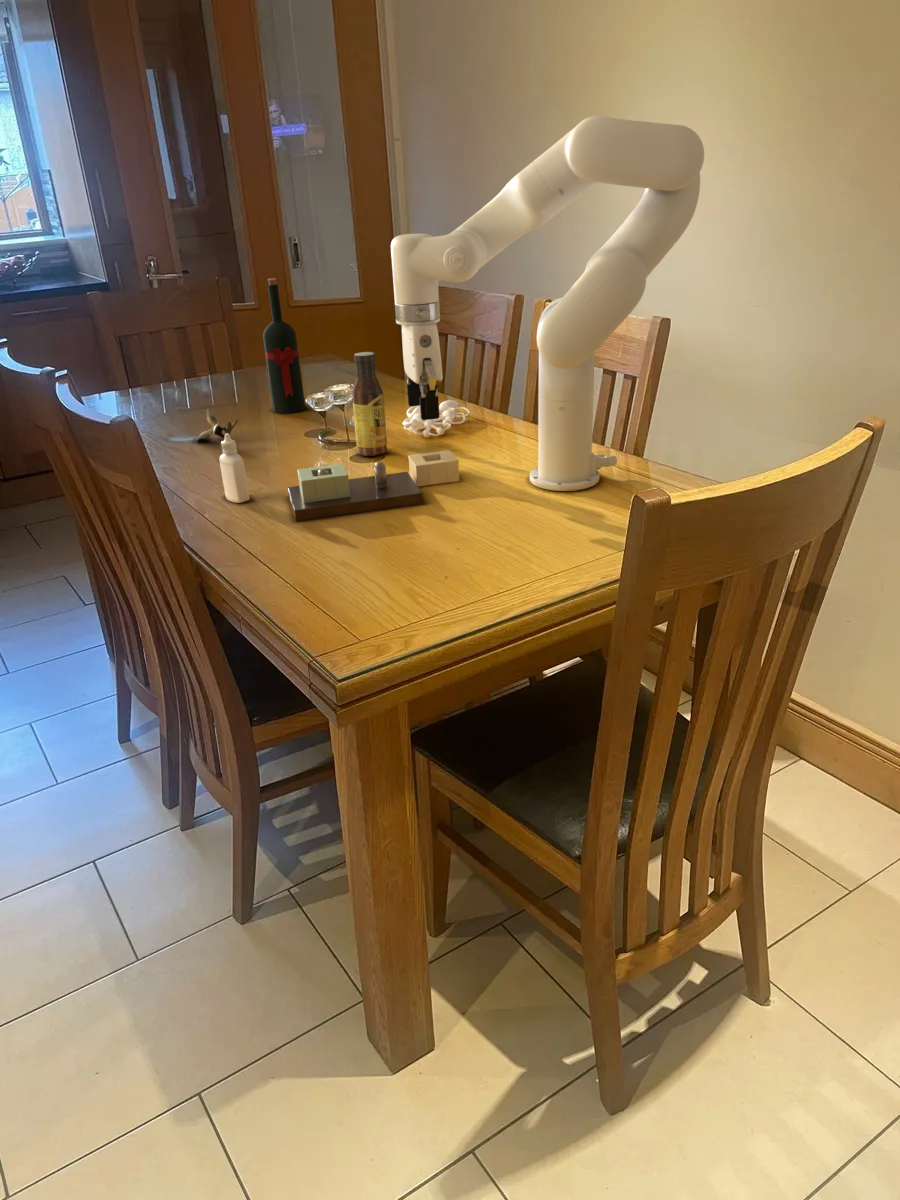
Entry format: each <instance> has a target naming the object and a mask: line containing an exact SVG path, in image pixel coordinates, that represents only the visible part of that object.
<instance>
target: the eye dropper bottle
mask: <svg viewBox="0 0 900 1200" xmlns="http://www.w3.org/2000/svg"><path fill="white" fill-rule="evenodd" d="M224 434H225V438H224V439H223V440H222V441H221V442H220V445H221V450H222V454H220V456H219V459H218V460H219V461H218V462H219V468H220V472H221V478H222V485H223V490H224V496H225V498H226V499H227V500H228V501H229V502H232V503H235V504H240V503H245V502H248V501H250V492H249V491H250V490H249V486H248V485H249V484H248V480H247V474H246V468H245V463H244V459H243V457H242V456H241V455H240V454H239V453H238V450H237V443H236V440H235V439H232V438H231V436H230V435H229V434H226V433H224Z"/></svg>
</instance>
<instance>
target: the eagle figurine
mask: <svg viewBox="0 0 900 1200" xmlns="http://www.w3.org/2000/svg"><path fill="white" fill-rule="evenodd" d="M205 410H206V411H205V416H206V421H207V423H208V424H209V426H211V428H209V429H208V430H205V431H202V432H201V433H200V434H199V435H198V437H197V438H196V439H195V440H194V441H195V442H197V441H199V440H202V439H203V440H205V439H209V438H210V437H211V436H214V435H215V436H218V437H219V438H221V439H225V434H229V436H230V435H231V434H232V433H231V432H232V430H233V429H234V427H235V426H236V425H237V423H238V421H239V419H238V418H236V419H235V420H234V422H233V423H232V422H230V421H229V420H227V423H226V426H223V427H222V426H220V425H219V422H218V420H217V418H216V417H215V415H213V414H212V413H211V410H210V409H209V408H207V409H205ZM223 431H224V433H223Z"/></svg>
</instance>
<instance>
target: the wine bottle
mask: <svg viewBox="0 0 900 1200" xmlns="http://www.w3.org/2000/svg"><path fill="white" fill-rule="evenodd" d="M267 281H268V284H267V289H268V290H267V291H268V298H269V304H270V311H271V318H272V321H271V322H270V323H269V324H268V325H267V326H266V327H265V329H264V330H263V333H262V339H263V347H264V354H265V362H266V368H267V376H268V383H269V391H270V398H271V399H270V400H271V407H272V411H273V412H274V413H276V414H293V413H298V412H302V411H304V410H305V409H306V402H305V401H306V400H305V393H304V387H303V379H302V371H301V363H300V356H299V349H298V341H297V333H296V331H295V329H294V328H293V326H292V325H291V324H289V323H288V322H286V321H284V320H283V315H282V309H281V300H280V291H279V285H278V283H277V279H276V278H274V277H273V278H268V279H267Z"/></svg>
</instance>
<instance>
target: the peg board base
mask: <svg viewBox="0 0 900 1200" xmlns="http://www.w3.org/2000/svg"><path fill="white" fill-rule="evenodd" d="M373 468H374V469H373V471H374V475H371V476H364V477H356V478H348V479H349V488H350V497H346V498H339V499H331V500H323V501H316V502H309V503H304V501H303V498H302V495H301V492H300V487H299V485H294V486H288V487H287V492H288V498H289V501H290V505H291V509H292V512H293V516H294V519H295V522H302V521H309V520H317V519H322V518H331V517H339V516H344V515H350V514H351V515H353V514H357V513H359V514H360V513H366V512H374V511H379V510H380V511H382V510H388V509H394V508H396V509H397V508H402V507H409V506H417V505H423V504H424V499H423V492H422V491H421V489H420V487H419V486H417V485H416V483H415V482H414V481H413V479H412V478H411V476H410V473H409V472H408V471H402V472H395V473H387V467H386V463H385V462H383V461H377V462H376V463H375V464H374V466H373ZM322 475H329V472H328V471H327V470H326V469H320V470H319V471H318V473H317V476H322Z"/></svg>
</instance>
